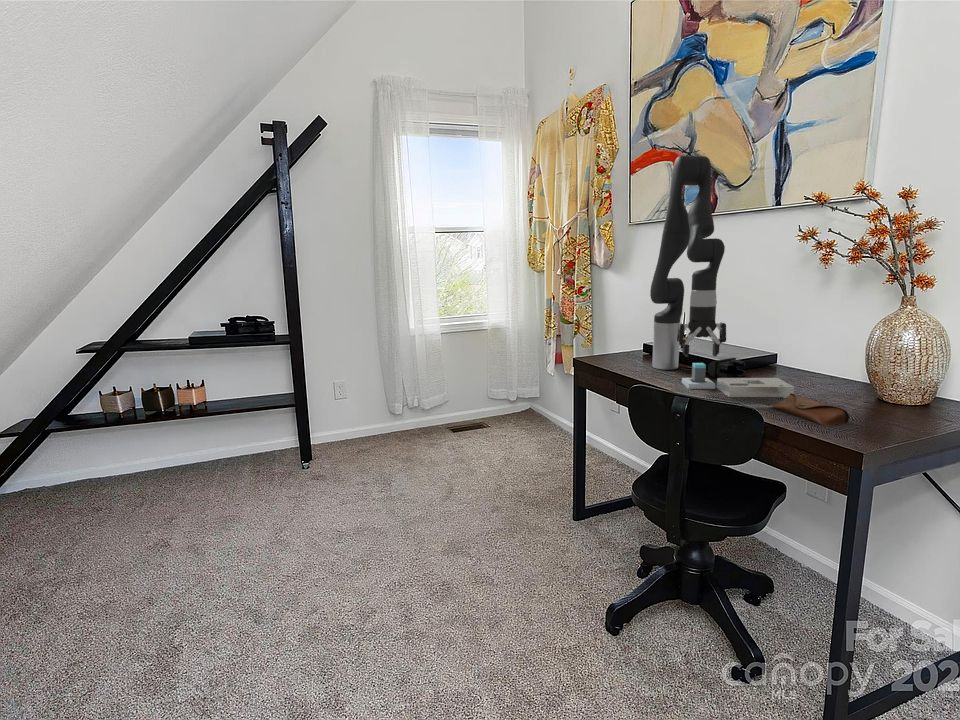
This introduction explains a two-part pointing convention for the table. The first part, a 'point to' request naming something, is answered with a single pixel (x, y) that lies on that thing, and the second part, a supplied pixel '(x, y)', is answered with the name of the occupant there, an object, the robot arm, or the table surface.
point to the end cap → (726, 368)
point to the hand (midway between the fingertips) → (700, 356)
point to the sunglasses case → (812, 410)
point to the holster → (698, 384)
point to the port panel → (754, 387)
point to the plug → (698, 372)
